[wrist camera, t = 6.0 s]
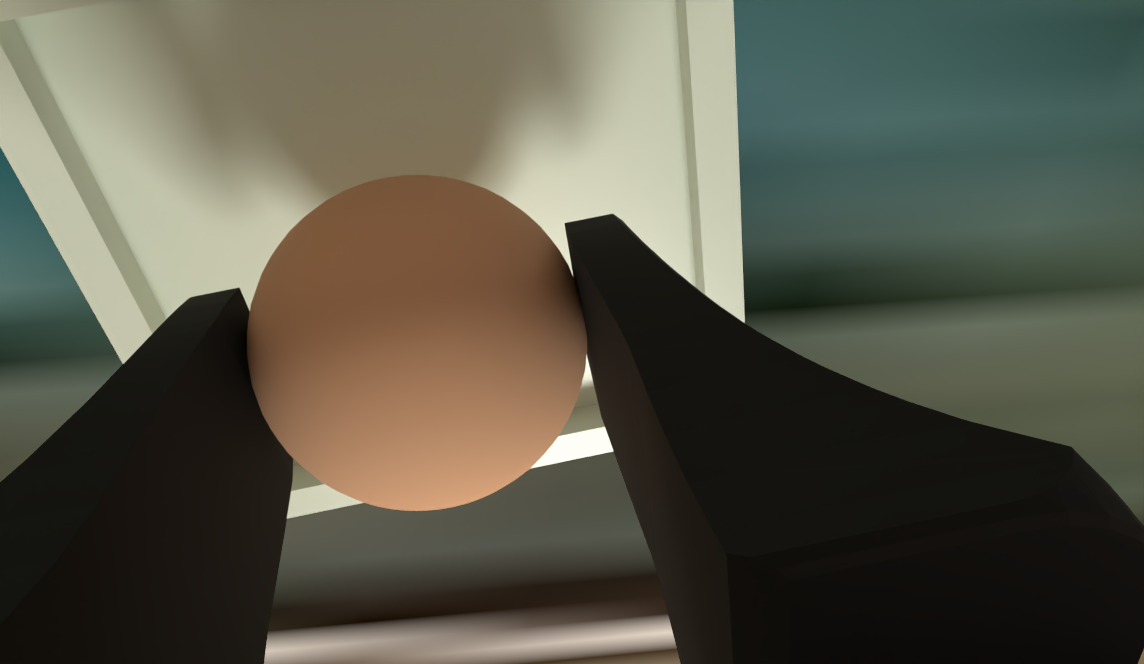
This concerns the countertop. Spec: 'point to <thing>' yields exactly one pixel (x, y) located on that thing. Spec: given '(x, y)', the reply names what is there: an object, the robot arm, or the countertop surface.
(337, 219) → the ball
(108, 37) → the tray
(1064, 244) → the countertop surface
